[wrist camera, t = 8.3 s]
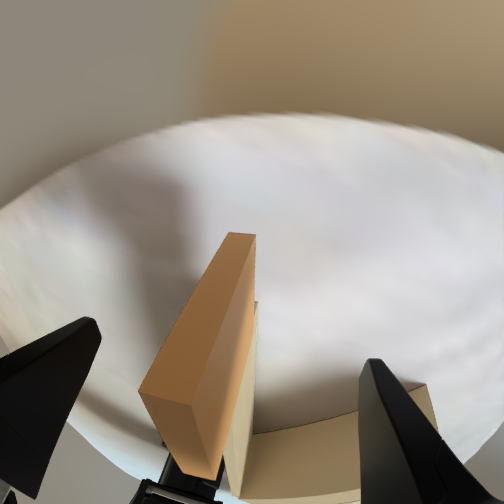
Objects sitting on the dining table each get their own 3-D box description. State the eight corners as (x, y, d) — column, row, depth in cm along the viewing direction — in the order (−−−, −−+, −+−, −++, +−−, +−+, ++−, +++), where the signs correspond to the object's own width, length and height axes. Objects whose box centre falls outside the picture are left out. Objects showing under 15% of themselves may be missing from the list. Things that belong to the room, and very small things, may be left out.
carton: (300, 466, 26) (294, 518, 19) (252, 434, 23) (238, 499, 16) (437, 428, 20) (448, 486, 13) (426, 384, 17) (444, 464, 10)
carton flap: (254, 436, 22) (234, 528, 14) (243, 434, 22) (222, 525, 14) (265, 210, 13) (191, 405, 4) (242, 209, 13) (137, 390, 4)
